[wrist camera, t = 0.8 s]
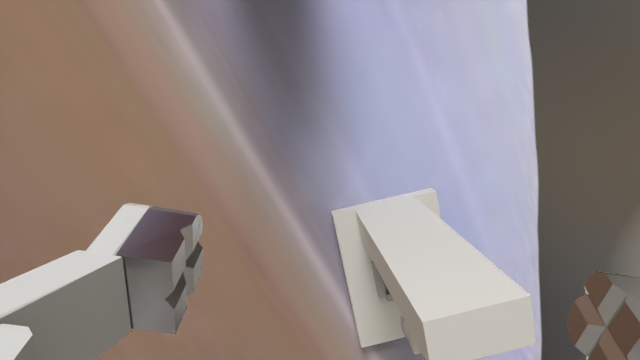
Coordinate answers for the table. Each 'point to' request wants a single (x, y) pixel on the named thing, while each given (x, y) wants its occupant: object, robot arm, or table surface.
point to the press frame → (427, 282)
